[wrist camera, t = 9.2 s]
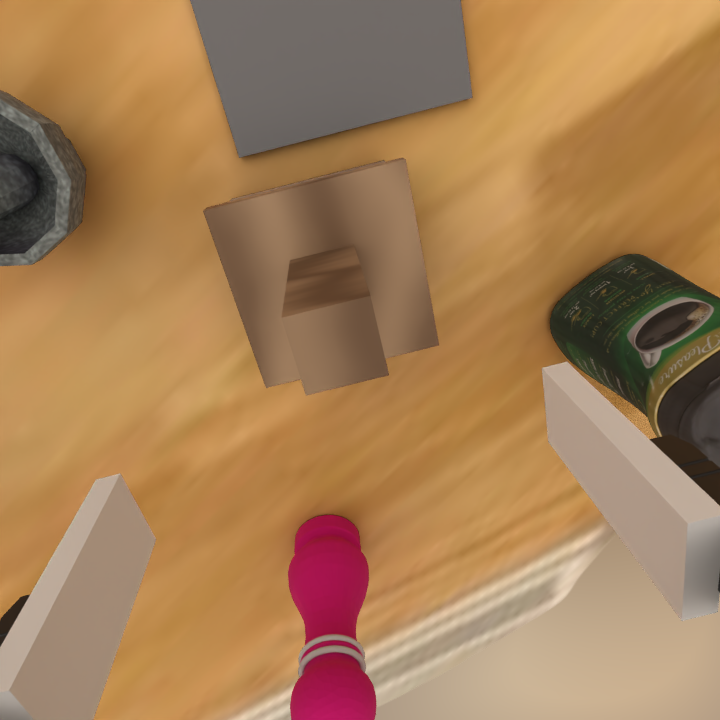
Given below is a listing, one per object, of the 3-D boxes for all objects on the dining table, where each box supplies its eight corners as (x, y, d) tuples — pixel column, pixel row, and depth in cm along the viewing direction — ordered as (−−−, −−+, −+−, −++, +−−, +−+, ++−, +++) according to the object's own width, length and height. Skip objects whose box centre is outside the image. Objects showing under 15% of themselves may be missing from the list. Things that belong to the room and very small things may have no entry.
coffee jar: (577, 376, 46) (732, 529, 29) (531, 311, 43) (674, 439, 26) (678, 307, 44) (907, 428, 27) (637, 233, 41) (866, 318, 24)
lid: (267, 379, 36) (250, 481, 26) (206, 207, 31) (157, 251, 21) (435, 338, 36) (483, 425, 26) (402, 157, 31) (446, 178, 21)
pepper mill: (371, 556, 52) (403, 788, 34) (302, 573, 53) (297, 813, 35) (354, 501, 49) (378, 725, 31) (280, 520, 50) (262, 753, 31)
